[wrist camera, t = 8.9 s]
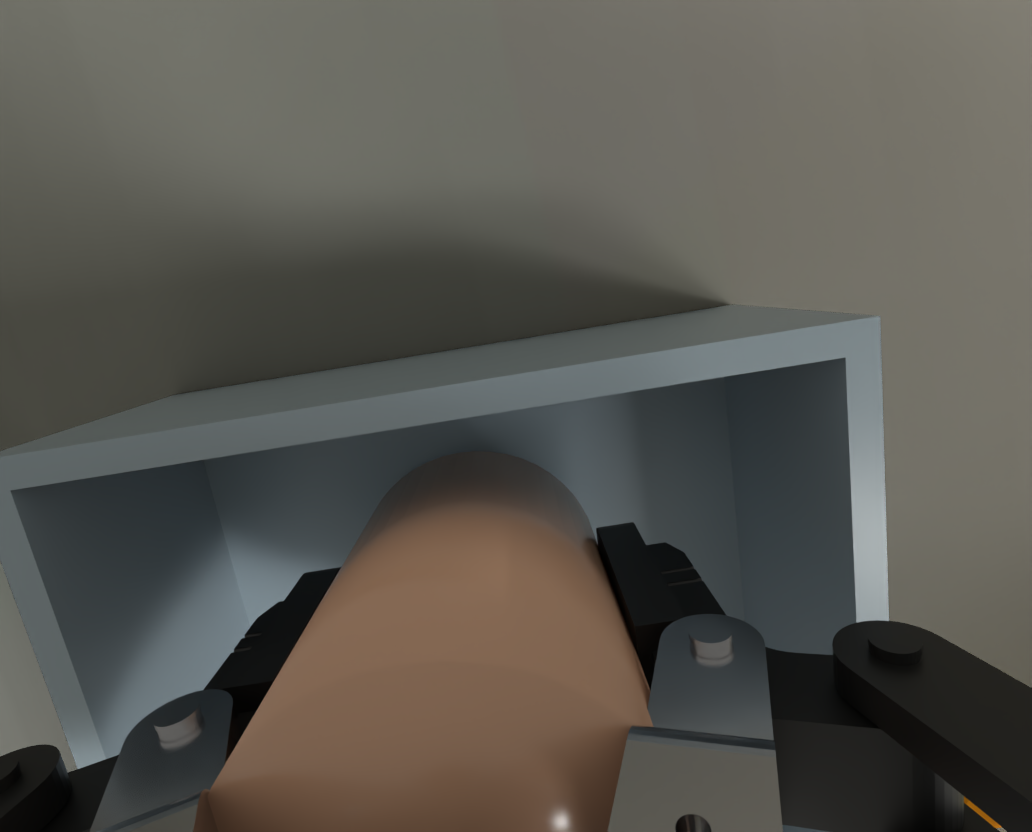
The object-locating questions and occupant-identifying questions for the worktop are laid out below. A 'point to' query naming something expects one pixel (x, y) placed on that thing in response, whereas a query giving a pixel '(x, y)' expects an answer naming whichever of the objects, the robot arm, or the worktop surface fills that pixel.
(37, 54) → the worktop surface
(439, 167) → the worktop surface
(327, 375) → the tote
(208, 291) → the worktop surface
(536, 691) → the brown egg
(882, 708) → the robot arm
